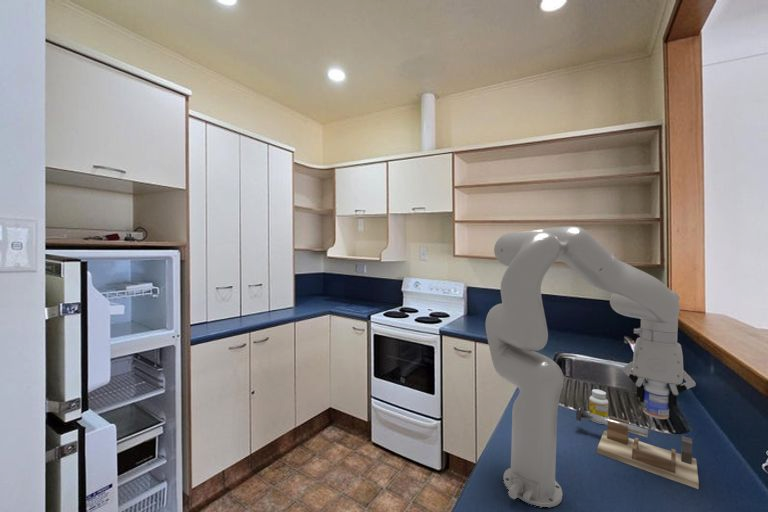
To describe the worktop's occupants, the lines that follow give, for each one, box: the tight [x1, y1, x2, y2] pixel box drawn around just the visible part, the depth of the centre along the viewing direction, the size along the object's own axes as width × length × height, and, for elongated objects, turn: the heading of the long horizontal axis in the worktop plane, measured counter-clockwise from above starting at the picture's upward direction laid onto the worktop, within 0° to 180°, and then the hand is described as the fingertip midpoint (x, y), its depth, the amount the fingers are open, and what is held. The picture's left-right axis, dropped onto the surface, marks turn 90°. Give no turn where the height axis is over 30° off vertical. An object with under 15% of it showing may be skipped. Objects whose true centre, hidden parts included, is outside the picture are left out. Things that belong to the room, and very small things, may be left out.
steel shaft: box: [575, 405, 649, 438], centre depth 99 cm, size 4×17×4 cm, turn 49°
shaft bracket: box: [596, 415, 700, 490], centre depth 90 cm, size 12×20×7 cm, turn 49°
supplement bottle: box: [588, 388, 609, 425], centre depth 111 cm, size 5×5×10 cm
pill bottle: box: [642, 379, 671, 420], centre depth 88 cm, size 5×5×10 cm
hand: (655, 403), depth 88 cm, fingers closed on pill bottle, 5 cm apart
